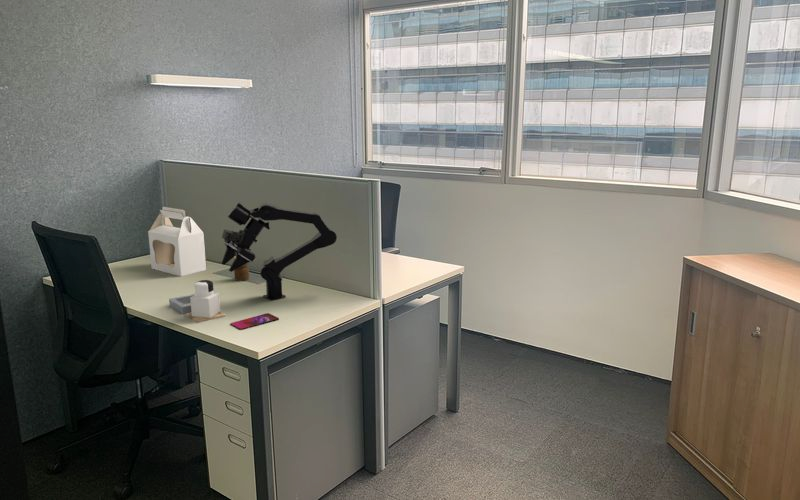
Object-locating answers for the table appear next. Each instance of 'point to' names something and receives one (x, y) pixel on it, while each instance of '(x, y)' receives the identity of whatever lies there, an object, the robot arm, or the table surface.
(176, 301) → the parts tub
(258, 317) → the smartphone
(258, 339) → the table surface
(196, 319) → the cork coaster
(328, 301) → the table surface
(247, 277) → the utensil holder
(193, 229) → the gable box
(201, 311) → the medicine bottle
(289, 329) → the table surface
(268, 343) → the table surface
